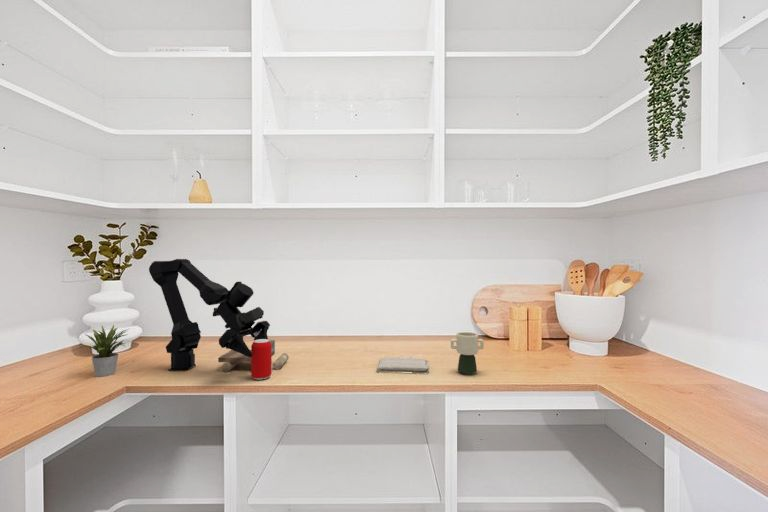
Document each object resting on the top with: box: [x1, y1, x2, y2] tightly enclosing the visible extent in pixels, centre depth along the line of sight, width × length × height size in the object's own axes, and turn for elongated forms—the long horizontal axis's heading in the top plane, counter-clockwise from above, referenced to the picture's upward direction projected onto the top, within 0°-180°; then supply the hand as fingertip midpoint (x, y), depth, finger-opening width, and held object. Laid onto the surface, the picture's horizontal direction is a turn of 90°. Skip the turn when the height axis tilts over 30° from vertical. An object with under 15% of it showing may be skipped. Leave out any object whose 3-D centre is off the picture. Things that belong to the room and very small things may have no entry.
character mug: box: [450, 331, 485, 375], centre depth 123 cm, size 11×7×13 cm, turn 88°
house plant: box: [80, 324, 129, 378], centre depth 122 cm, size 14×14×16 cm
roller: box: [272, 353, 290, 370], centre depth 132 cm, size 3×10×3 cm, turn 1°
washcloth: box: [376, 356, 430, 375], centre depth 128 cm, size 12×18×3 cm, turn 85°
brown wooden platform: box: [217, 339, 276, 373], centre depth 131 cm, size 16×13×8 cm
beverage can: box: [250, 338, 272, 381], centre depth 118 cm, size 6×6×12 cm
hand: (261, 352), depth 118 cm, fingers open, 9 cm apart
